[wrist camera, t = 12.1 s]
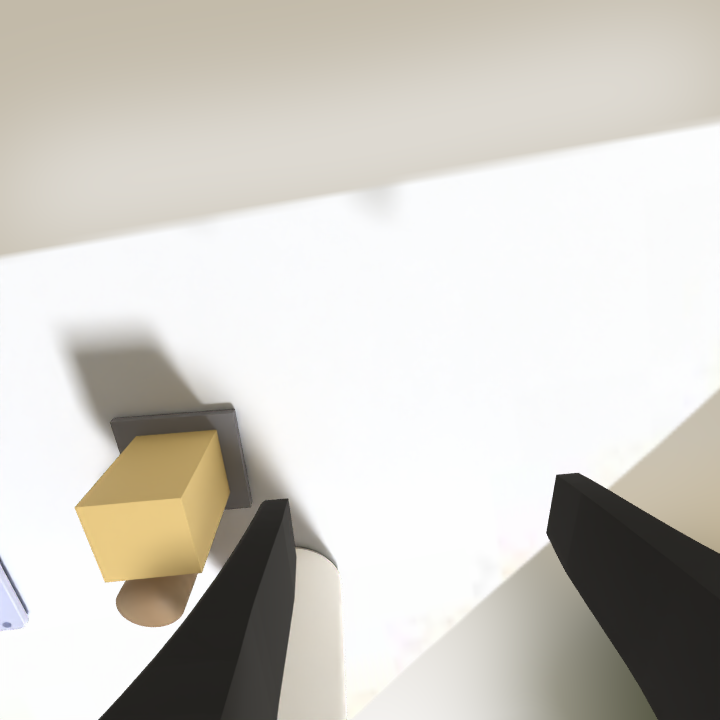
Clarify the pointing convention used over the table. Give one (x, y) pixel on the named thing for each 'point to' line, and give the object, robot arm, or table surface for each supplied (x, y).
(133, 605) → the cork cylinder
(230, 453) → the coaster
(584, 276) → the table surface
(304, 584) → the can
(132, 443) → the ochre block
